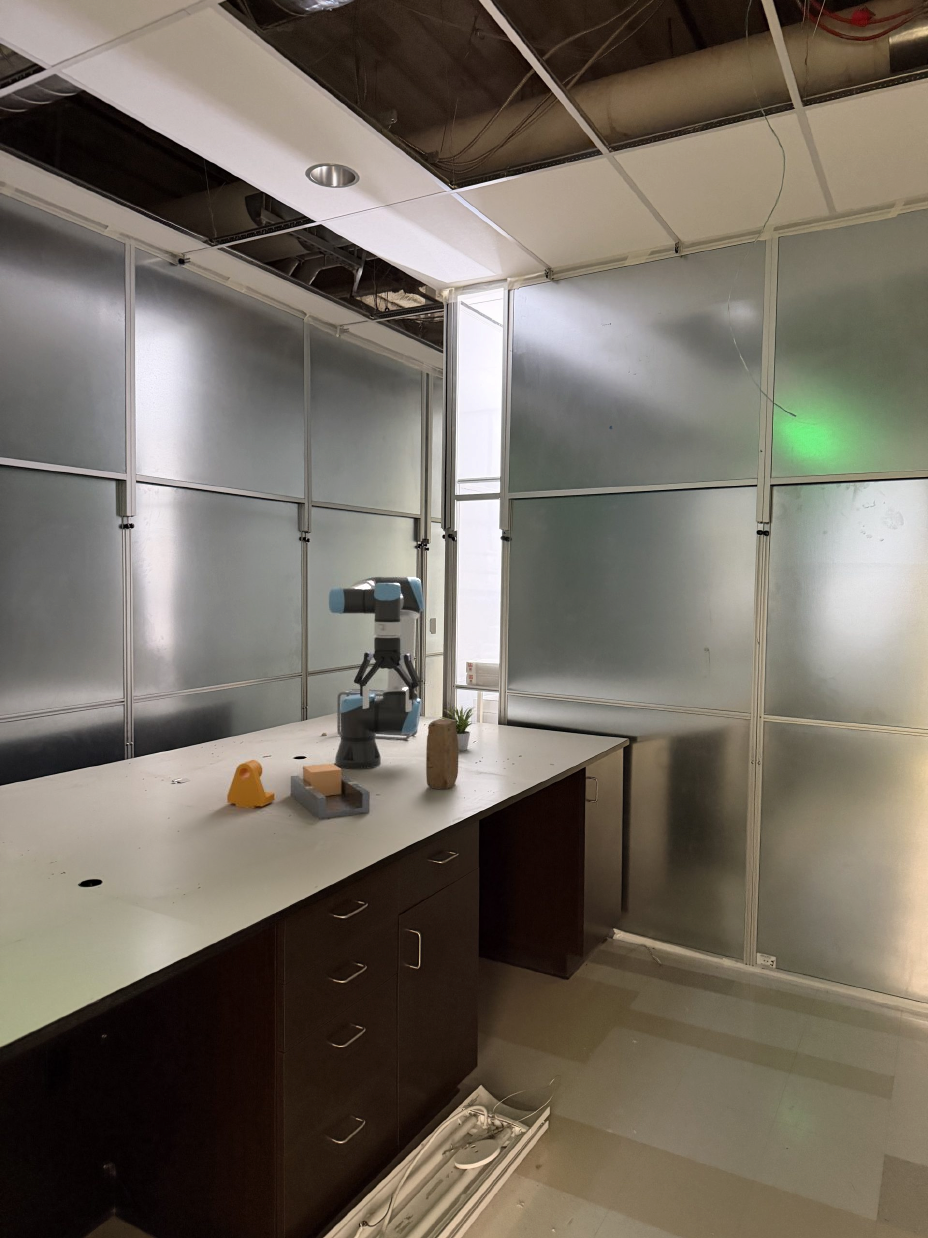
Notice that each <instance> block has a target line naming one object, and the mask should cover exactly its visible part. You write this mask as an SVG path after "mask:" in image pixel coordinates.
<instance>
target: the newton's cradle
mask: <svg viewBox="0 0 928 1238" xmlns="http://www.w3.org/2000/svg"><path fill="white" fill-rule="evenodd" d="M385 690H386V689H370V688H369V693H374V694H375V695H376V697H378V698H381V697H383V692H384V691H385ZM358 694H360V688H349V689H348V690H347V691H340V692H338V694H337V701H336V702H337V703H336V704H337V711H336V712H337V715H336V716H337V717H336V719H337V720H336V721H337V724H336V725H337V727H336V728H337V735H339V736H340V737H341V713H340V711H341V696H342V695H345V696H346V697H348V696H352V695H358ZM417 698H419V697H418V695H417ZM377 734H378V735H377ZM417 734H418V728H417V730H416V731H415V732H414V733H404V734H402V733H376V738H377V739H376V740H391V739H396V740H395V741H407V740H409V739H410V737H414V736H415V735H417ZM383 735H384V736H383ZM388 735H391V736H388ZM392 735H393V736H392ZM402 736H405V737H402Z"/></svg>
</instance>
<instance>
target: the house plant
mask: <svg viewBox="0 0 928 1238" xmlns="http://www.w3.org/2000/svg"><path fill="white" fill-rule="evenodd" d="M451 708H452V710H453V711H454V713H455V715H454V713H452V712H450V711H449V710H446V709H445V712H446V713H448V714H449V715H450V716H451V717H452V718H453V719H452V720H454V721H455V723H456V732H457V736H458V752H460V751H467V750H468V748H469V742H470V735H471V732H470V731H468V730H467V728H468V727H469V726H471V725H473V724H475V725H476V724H477V723H475V722H472V721H470V718H471V717H472V715H473V714H474V713H475V711H473V710H474V708H476V707H475V706H473V707H468V708H466V709H465V710H463V706H461V709H460V710H459V709H458V708H457V707H456V706H453V707H451ZM463 712H464V713H463ZM439 719H449V718H448V717H442V716H439Z"/></svg>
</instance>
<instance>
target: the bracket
mask: <svg viewBox="0 0 928 1238" xmlns="http://www.w3.org/2000/svg"><path fill="white" fill-rule="evenodd" d="M262 774H263V767H262V764H261V763H260V762H259V761H258V760H255V759H251V760H248V761H246V762H243V763H241V764H239V765H238V766H237V767H236V769H235V772H234V775H233V777H232V781H231V784H230V787H229V790H228V793H227V794H226V795H227V799H226V800H227V802H226V803H228V804H235V807H237V806H238V808H247V807H248V809H249V808H250V809H256V808H257V807H264V806H266V805H268V804H270V803H272V802H273V801H275V796H276V795H275V792H271V791H265V789H264V787H263V783H262V781H261V777H262Z"/></svg>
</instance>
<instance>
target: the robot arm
mask: <svg viewBox="0 0 928 1238" xmlns="http://www.w3.org/2000/svg"><path fill="white" fill-rule="evenodd" d="M423 596H424V595H423V587H422V582H421V579H419V578H418V577H411V576H374V577H373V576H372V577H369V578H364V579H361V580H357V581H356V582H354V583H353V584H352V585H351V586H350V587H347V588H342V587H339V588H338V587H337V588H332V589H330V591H329V594H328V608H329V609H328V610H329V611H330V612H331V613H332V614H340V615H343V614H349V615H350V614H364V615H365V614H367V615H368V614H369V615H374V626H373V627H374V628H373V629H374V630H373V631H374V635H375V637H374V638H373V641H374V642H373V643H374V644H373V646H374V652H371V651H367V652H364V654H363V659H362V662H361V665H360V667H359V669H358V671H357V672H356V676H355V677H354V680H353V682H354V684H357V685H358V686H359V689H360V694H358V695H349V696H348V697H347V696H346V697H344V698H343V699H341V700H340V732H341V736H340V742H339V744H338V748H337V752H336V755H335V758H334V759H335V760H334V765H335V766H337V767H338V768H343V769H353V770H356V769H357V770H358V769H359V770H360V769H371V768H375V767H378V766H380V765H381V764H382V762H381V761H382V760H381V758H382V756H381V754H380V751H379V747H378V744H377V742H376V741H377V739H376V736H377V734H376V733H402V734H404V733H414V732H415V731H416V730H417V728H418V727H419V724H420V719H421V711H422V703H423V702H422V699H420V698H419V697H418V698H417V696H418V692H417V691H416V688H418V687H421V686H422V682H421V680H420V677H419V676H418V673H417V671H416V669H415V666H414V665H415V664H414V663H415V633H416V632H415V629H416V626H415V625H416V620H417V619H418V618H419V617H420V616H421V615H420V613H421V612H422V611H424V610H425V606H424V605H425V604H424V597H423ZM372 660H374V661H375V662H374V663H373V665H372V667H371V668H370V669H369V670H368V672H367V669H368V667H369V665H370V663H371V661H372ZM379 669H387V670H388V671H387V688H385V689H384V690H385V691H384V692H383V696H382V697H380V698H379V697H377V696H376V695H375V694H374V693H375V692H369V689H370V685H369V684H368V683H369V681H370V680H372V678H373V677H374V675H375V674H376V673H377V672H378V670H379ZM366 672H367V673H366ZM417 731H418V730H417Z"/></svg>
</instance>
